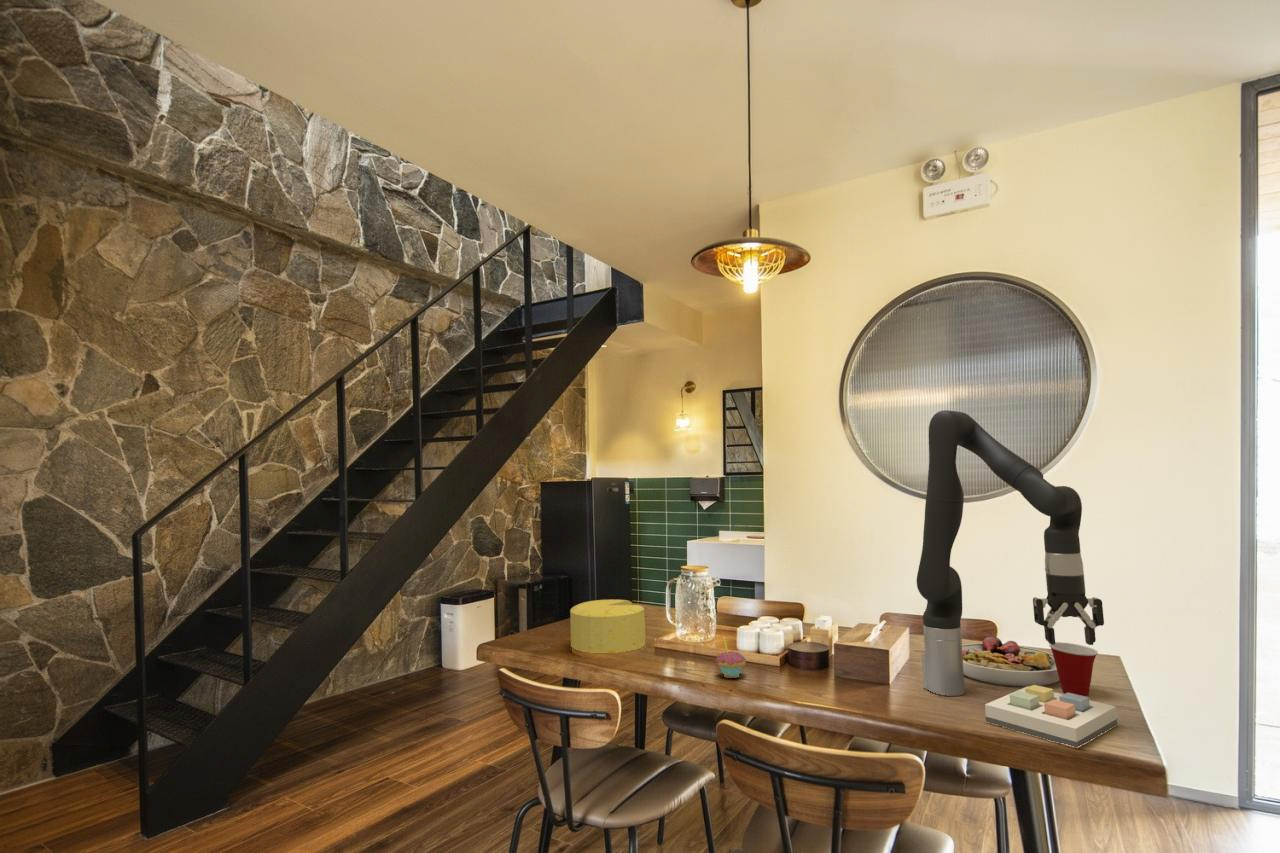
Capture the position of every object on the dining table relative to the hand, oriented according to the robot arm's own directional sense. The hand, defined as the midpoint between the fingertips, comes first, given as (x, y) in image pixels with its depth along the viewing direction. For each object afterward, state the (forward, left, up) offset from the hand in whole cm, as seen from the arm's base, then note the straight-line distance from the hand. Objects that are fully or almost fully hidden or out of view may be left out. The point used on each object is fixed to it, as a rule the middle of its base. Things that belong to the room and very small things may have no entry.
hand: (1070, 643), depth 151 cm
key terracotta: (0, -8, -14) cm, 16 cm away
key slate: (0, 0, -14) cm, 14 cm away
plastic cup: (-9, +24, -18) cm, 31 cm away
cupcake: (-77, -35, -18) cm, 87 cm away
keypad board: (-4, -4, -18) cm, 19 cm away
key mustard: (-8, 0, -14) cm, 16 cm away
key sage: (-8, -8, -14) cm, 18 cm away
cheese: (-128, -46, -19) cm, 138 cm away
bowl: (-29, +28, -19) cm, 45 cm away
